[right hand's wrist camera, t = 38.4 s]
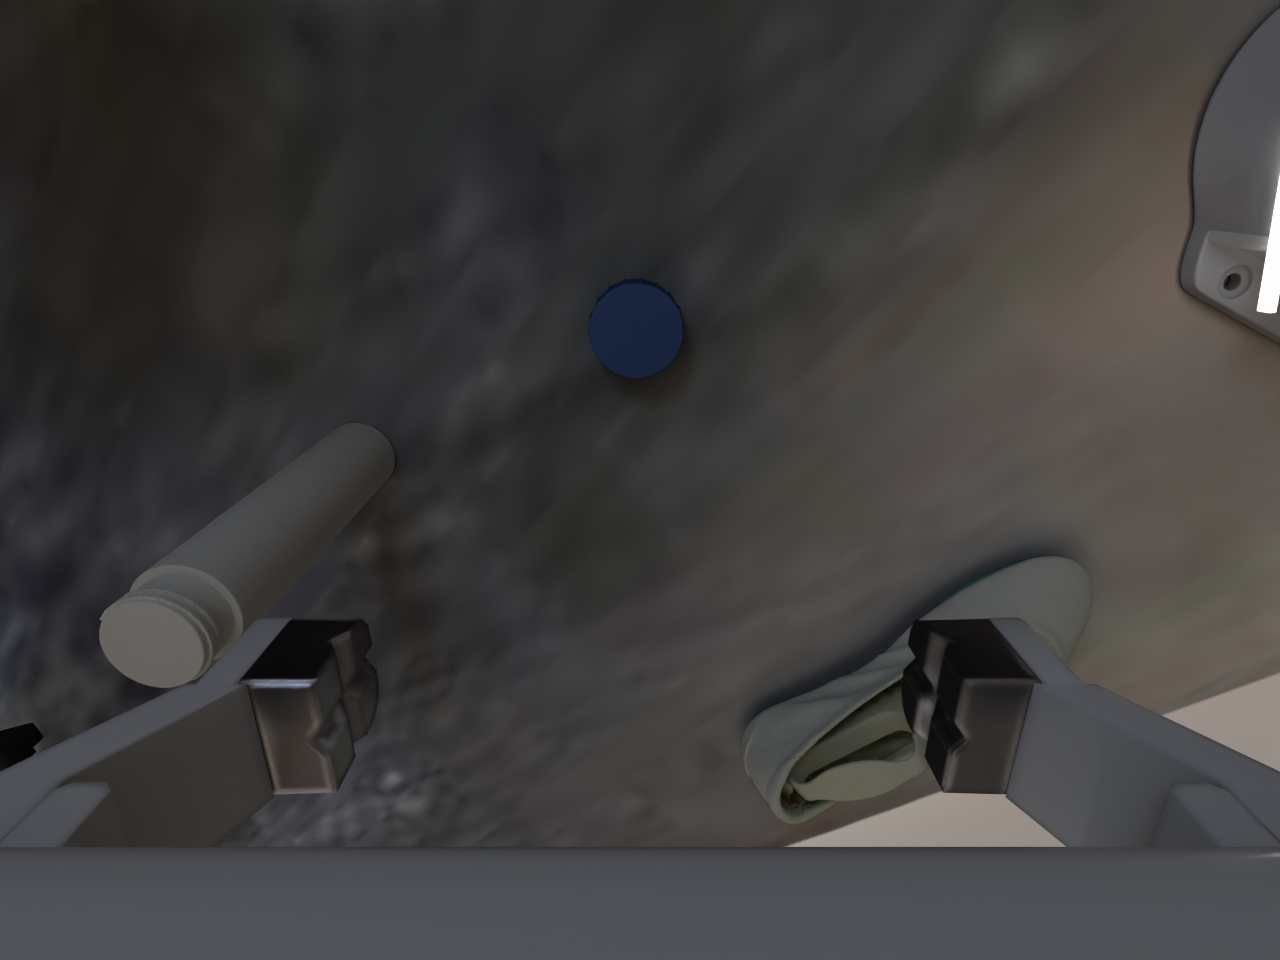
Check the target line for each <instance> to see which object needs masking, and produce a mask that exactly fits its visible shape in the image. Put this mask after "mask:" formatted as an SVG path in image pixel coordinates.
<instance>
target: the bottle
mask: <svg viewBox="0 0 1280 960" xmlns="http://www.w3.org/2000/svg"><path fill="white" fill-rule="evenodd" d="M394 466H395V454H394V451H393V448H392V445H391V444H390V442H389V440H388V439H387V438H386V437H385V436H384V435H383V434H382V433H381V432H380V431H379V430H377V429H375V428H374V427H372V426H369V425H366V424H362V423H348V424H344V425H341V426H339V427H338V428H336V429H335V430H333V431H332V432H331V433H329V434H328V435H327V436H325V437H324V438H323V439H321V440H320V441H319V442H317V443H316V444H315V445H313V446H312V447H311V448H309V449H308V450H307V451H305V452H304V453H303V454H301V455H300V456H299V457H297V458H296V459H295V460H293V461H292V462H291V463H289V464H288V465H287V466H285V467H284V468H283V469H281V470H280V471H279V472H277V473H276V474H275V475H273V476H272V477H271V478H269V479H268V480H267V481H265V482H264V483H263V484H261V485H260V486H259V487H257V488H256V489H255V490H253V491H252V492H251V493H249V494H248V495H247V496H245V497H244V498H243V499H241V500H240V501H239V502H237V503H236V504H235V505H233V506H232V507H231V508H229V509H228V510H227V511H225V512H224V513H223V514H221V515H220V516H219V517H217V518H216V519H215V520H213V521H212V522H211V523H209V524H208V525H207V526H205V527H204V528H203V529H201V530H200V531H199V532H197V533H196V534H195V535H193V536H192V537H191V538H189V539H188V540H187V541H185V542H184V543H183V544H181V545H180V546H179V547H177V548H176V549H175V550H173V551H172V552H171V553H169V554H168V555H167V556H165V557H164V558H163V559H161V560H160V561H159V562H157V563H156V564H155V565H153V566H152V567H151V568H149V569H148V570H147V571H145V572H144V573H143V574H141V575H140V576H139V577H138V578H137V579H136V580H135V582H134V583H133V585H132V587H131V589H130V592H129V593H127V594H125V595H124V596H123V597H121V598H120V599H119V600H118V601H116V602H115V603H114V604H112V605H111V606H110V607H108V608H107V609H106V610H105V611H104V613H103V615H102V616H101V618H100V620H101V621H102V622H101V626H100V630H99V639H100V644H101V647H102V649H103V652H104V653H105V655H106V657H107V658H108V660H109V661H110V662H111V663H112V665H113V666H114V667H115V668H117V669H118V670H119V671H120V672H121V673H123V674H124V675H126V676H127V677H129V678H130V679H132V680H134V681H136V682H139V683H142V684H145V685H148V686H153V687H161V688H168V687H176V686H179V685H182V684H185V683H187V682H189V681H191V680H195V679H196V678H198V677H199V676H200V675H202V674H203V673H205V672H206V670H207V669H208V667H209V666H210V665H211V663H212V660H215V659H218V658H221V657H222V656H223V655H224V654H225V652H226V651H227V650H228V649H229V648H230V647H231V646H232V645H233V644H234V643H235V642H236V641H237V640H238V638H239V637H240V636H241V635H242V634H243V633H244V632H245V631H246V630H247V629H248V628H249V627H250V626H251V624H252V623H253V622H254V621H255V620H258V619H261V618H262V617H263V616H264V615H265V614H266V613H267V612H268V611H269V610H270V608H271V607H272V606H273V605H274V604H275V603H276V602H277V601H278V600H279V599H280V597H281V596H282V595H283V594H284V593H285V592H286V591H287V590H288V589H289V588H290V586H291V585H292V584H293V583H294V582H295V581H296V580H297V579H298V578H299V576H300V575H301V574H302V573H303V572H304V571H305V570H306V569H307V568H308V567H309V565H310V564H311V563H312V562H313V561H314V560H315V559H316V558H317V557H318V556H319V554H320V553H321V552H322V551H323V550H324V549H325V548H326V547H327V546H328V545H329V543H330V542H331V541H332V540H333V539H334V538H335V537H336V536H337V535H338V533H339V532H340V531H341V530H342V529H343V528H344V527H345V526H346V525H347V524H348V522H349V521H350V520H351V519H352V518H353V517H354V516H355V515H356V514H357V513H358V511H359V510H360V509H361V508H362V507H363V506H364V505H365V504H366V503H367V501H368V500H369V499H370V498H371V497H372V496H373V495H374V494H375V493H376V492H377V490H378V489H379V488H380V487H381V486H382V485H383V484H384V483H385V482H386V481H387V479H388V478H389V477H390V476H391V474H392V472H393V470H394Z"/></svg>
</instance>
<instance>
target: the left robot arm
mask: <svg viewBox="0 0 1280 960" xmlns="http://www.w3.org/2000/svg"><path fill="white" fill-rule="evenodd" d="M42 738H43V735H42V734H41V733H40V731H39V730H38V729H37V727H36V726H35V725H34V724H33V723H28V724H25V725H21V726H17V727H13V728H9V729H6V730H2V731H0V771H2V770H4V769H6V768H9V767H11V766H13V765H15V764H17V763H19V762H21V761H23V760H25V759H28V758H30V757H31V756H32V755H33V754H34V753H35V752H36V751H35V749H34V748H33V747H34V746H35V745H36V744H37V743H38V742H39V741H40V740H41V739H42Z"/></svg>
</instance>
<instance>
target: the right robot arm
mask: <svg viewBox="0 0 1280 960" xmlns="http://www.w3.org/2000/svg"><path fill="white" fill-rule="evenodd" d="M1193 195H1194V227H1193V229H1192V232H1191V235H1190V238H1189V241H1188V244H1187V247H1186V250H1185V253H1184V257H1183V261H1182V265H1181V270H1180V281H1181V285H1182V287H1183V288H1184V290H1185V291H1186V292H1188V293H1189V294H1191V295H1193V296H1194V297H1196V298H1198V299H1200V300H1201V301H1203V302H1205V303H1207V304H1209V305H1210V306H1212V307H1214V308H1216V309H1218V310H1219V311H1221V312H1223V313H1225V314H1227V315H1228V316H1230V317H1232V318H1234V319H1236V320H1237V321H1239V322H1241V323H1243V324H1245V325H1246V326H1248V327H1250V328H1252V329H1253V330H1255V331H1257V332H1259V333H1261V334H1262V335H1264V336H1266V337H1268V338H1270V339H1271V340H1273V341H1275V342H1277V343H1279V344H1280V7H1279V8H1278V9H1277V10H1276V11H1275V12H1274V13H1273V14H1271V15H1270V16H1269V17H1268V18H1267V19H1266V20H1265V21H1264V22H1263V23H1262V24H1261V25H1260V26H1259V27H1258V29H1257V30H1256V31H1255V32H1254V33H1253V34H1252V35H1251V37H1250V38H1249V39H1248V40H1247V41H1246V42H1245V44H1244V45H1243V46H1242V48H1241V49H1240V50H1239V52H1238V53H1237V54H1236V56H1235V57H1234V59H1233V60H1232V62H1231V63H1230V65H1229V66H1228V68H1227V69H1226V71H1225V73H1224V74H1223V76H1222V78H1221V80H1220V82H1219V83H1218V85H1217V87H1216V89H1215V91H1214V93H1213V95H1212V97H1211V100H1210V102H1209V104H1208V107H1207V109H1206V112H1205V115H1204V118H1203V121H1202V123H1201V127H1200V130H1199V134H1198V138H1197V143H1196V148H1195V154H1194V162H1193ZM1229 275H1230V281H1229V283H1228V285H1227V286H1226V287H1224V281H1225V279H1226V278H1227V276H1229ZM371 646H372V641H371V636H370V631H369V626H368V624H367V623H366V622H365V621H364V620H363V619H322V618H296V619H295V618H262V619H258V620H255V621H254V622H253V623H252V624H251V626H250V627H249V628H248V629H247V630H246V631H245V632H244V633H243V634H242V635H241V636H240V637H239V638H238V640H237V641H236V642H235V643H234V644H233V645H232V646H231V647H230V648H229V649H228V650H227V651H226V652H225V654H224V655H223V656H222V657H221V658H220V659H219V660H218V661H217V662H216V663H215V664H214V665H213V666H212V668H211V669H210V670H209V671H208V672H207V673H206V674H205V675H204V676H203V677H202V678H201V679H200V680H199V682H198V683H197V684H184V685H182V686H180V687H178V688H176V689H174V690H171V691H169V692H167V693H165V694H163V695H161V696H159V697H157V698H155V699H152V700H150V701H148V702H146V703H144V704H142V705H140V706H138V707H135V708H133V709H131V710H129V711H127V712H125V713H123V714H121V715H119V716H116V717H114V718H112V719H110V720H108V721H106V722H104V723H102V724H100V725H97V726H95V727H93V728H91V729H89V730H87V731H85V732H83V733H80V734H78V735H76V736H74V737H72V738H70V739H68V740H66V741H64V742H61V743H59V744H57V745H55V746H53V747H51V748H49V749H47V750H44V751H42V752H40V753H38V754H36V755H34V756H32V757H30V758H28V759H25V760H23V761H21V762H19V763H17V764H15V765H13V766H11V767H9V768H6V769H4V770H2V771H0V960H1280V772H1279V771H1277V770H1275V769H1273V768H1271V767H1269V766H1267V765H1265V764H1263V763H1260V762H1258V761H1256V760H1254V759H1252V758H1250V757H1248V756H1246V755H1244V754H1241V753H1239V752H1237V751H1235V750H1233V749H1231V748H1229V747H1227V746H1225V745H1222V744H1220V743H1218V742H1216V741H1214V740H1212V739H1210V738H1208V737H1206V736H1203V735H1201V734H1199V733H1197V732H1195V731H1193V730H1191V729H1189V728H1187V727H1184V726H1182V725H1180V724H1178V723H1176V722H1174V721H1172V720H1170V719H1168V718H1165V717H1163V716H1161V715H1159V714H1157V713H1155V712H1153V711H1151V710H1149V709H1146V708H1144V707H1142V706H1140V705H1138V704H1136V703H1134V702H1132V701H1130V700H1128V699H1125V698H1123V697H1121V696H1119V695H1117V694H1115V693H1113V692H1111V691H1109V690H1106V689H1104V688H1102V687H1100V686H1098V685H1096V684H1083V683H1082V682H1081V680H1080V679H1079V678H1078V677H1077V676H1076V675H1075V674H1074V673H1073V672H1072V671H1071V670H1070V669H1069V667H1068V666H1067V665H1066V664H1065V663H1064V662H1063V661H1062V660H1061V659H1060V658H1059V657H1058V656H1057V655H1056V653H1055V652H1054V651H1053V650H1052V649H1051V648H1050V647H1049V646H1048V645H1047V644H1046V643H1045V642H1044V641H1043V639H1042V638H1041V637H1040V636H1039V635H1038V634H1037V633H1036V632H1035V631H1034V630H1033V629H1032V628H1031V627H1030V625H1029V624H1028V623H1027V622H1026V621H1024V620H1022V619H1019V618H1017V617H1011V618H984V619H955V620H915V621H914V623H913V625H912V627H911V630H910V635H909V640H908V646H909V647H910V649H911V651H912V652H913V654H914V656H915V658H914V659H913V660H912V661H911V663H910V664H909V665H908V666H907V667H906V668H905V669H904V670H903V677H902V685H901V694H902V706H903V710H904V714H905V717H906V721H907V723H908V725H909V727H910V729H911V731H912V733H913V734H914V735H915V736H917V737H918V738H920V739H921V740H923V741H924V742H926V743H927V745H926V751H925V756H924V757H925V758H926V760H927V762H928V764H929V766H930V768H931V770H932V772H933V774H934V776H935V778H936V780H937V781H938V783H939V785H940V787H941V789H942V791H943V792H944V793H977V794H1006V798H1007V799H1009V800H1010V801H1011V802H1012V803H1014V804H1015V805H1016V806H1017V807H1018V808H1020V809H1021V810H1022V811H1023V812H1025V813H1026V814H1027V815H1028V816H1030V817H1031V818H1032V819H1033V820H1034V821H1036V822H1037V823H1038V824H1039V825H1041V826H1042V827H1043V828H1044V829H1045V830H1047V831H1048V832H1049V833H1050V834H1052V835H1053V836H1054V837H1055V838H1057V839H1058V840H1059V841H1060V842H1061V843H1063V844H1064V845H1065V846H1066V847H214V846H215V845H216V844H217V843H219V842H220V841H221V840H222V839H224V838H225V837H226V836H227V835H229V834H230V833H231V832H232V831H234V830H235V829H236V828H237V827H238V826H240V825H241V824H242V823H243V822H245V821H246V820H247V819H248V818H250V817H251V816H252V815H253V814H254V813H256V812H257V811H258V810H259V809H261V808H262V807H263V806H264V805H266V804H267V803H268V802H269V801H271V800H272V799H273V798H274V794H302V793H337V791H338V789H339V787H340V785H341V783H342V782H343V780H344V778H345V776H346V774H347V772H348V770H349V768H350V766H351V764H352V762H353V760H354V758H355V757H356V756H355V751H354V745H353V743H354V742H356V741H357V740H359V739H360V738H362V737H363V736H365V735H366V734H367V733H368V731H369V729H370V727H371V725H372V723H373V721H374V718H375V713H376V709H377V704H378V699H379V683H378V676H377V670H376V669H375V668H374V667H373V666H372V665H371V664H370V663H369V661H368V660H367V659H366V658H365V656H366V654H367V653H368V651H369V649H370V647H371Z"/></svg>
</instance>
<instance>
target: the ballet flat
mask: <svg viewBox="0 0 1280 960" xmlns="http://www.w3.org/2000/svg"><path fill="white" fill-rule="evenodd" d="M1092 596H1093V589H1092V581H1091V578H1090V576H1089V574H1088V573H1087V571H1086V570H1085V569H1084V567H1083V566H1082V565H1081V564H1079V563H1078V562H1076V561H1074V560H1072V559H1070V558H1066V557H1060V556H1044V557H1043V556H1041V557H1034V558H1028V559H1025V560H1021V561H1018V562H1015V563H1012V564H1010V565H1007V566H1004V567H1002V568H999V569H997V570H994V571H992V572H989V573H987V574H985V575H983V576H981V577H979V578H977V579H975V580H973V581H971V582H969V583H967V584H966V585H964V586H962V587H961V588H959V589H957V590H956V591H955V592H953V593H952V594H950V595H949V596H948V597H946V598H945V599H944V600H942V601H941V602H940V603H939V604H938V605H936V606H935V607H934V608H933V609H932V610H931V611H930V612H928V613H927V614H926V615H924V616H923V617H922V618H920V619H919V620H955V619H984V618H1011V617H1017V618H1019V619H1022V620H1024V621H1026V622H1027V623H1028V624H1029V625H1030V627H1031V628H1032V629H1033V630H1034V631H1035V632H1036V633H1037V634H1038V635H1039V636H1040V637H1041V638H1042V639H1043V641H1044V642H1045V643H1046V644H1047V645H1048V646H1049V647H1050V648H1051V649H1052V650H1053V651H1054V652H1055V653H1056V655H1057V656H1058V657H1059V658H1060V659H1061V660H1062V661H1063V662H1064V663H1065V662H1066V661H1067V660H1068V658H1069V657H1070V655H1071V653H1072V652H1073V650H1074V647H1075V646H1076V644H1077V642H1078V640H1079V639H1080V636H1081V634H1082V632H1083V630H1084V628H1085V626H1086V623H1087V621H1088V618H1089V614H1090V609H1091V604H1092ZM911 627H912V625H911V626H910V627H909V628H908V629H907V630H906V631H905V632H904V633H903V634H902V635H901V636H900V637H899V638H898V639H897V640H896V641H895V642H894V643H893V644H892V645H891V646H890V647H889V648H888V649H887V651H885V652H884V653H882V654H879V655H878V656H876V657H875V658H874V660H872V661H871V662H869V663H867V664H866V665H865V666H863V667H862V668H860V669H859V670H857V671H854V672H852V673H851V674H849V675H846V676H842V677H839V678H837V679H835V680H833V681H831V682H829V683H827V684H825V685H823V686H821V687H819V688H817V689H814V690H811V691H808V692H805V693H802V694H799V695H797V696H794V697H791V698H788V699H786V700H783V701H781V702H779V703H776V704H774V705H772V706H770V707H768V708H766V709H764V710H762V711H761V712H759V713H758V714H757V715H756V716H754V718H753V719H752V720H751V722H750V723H749V724H748V725H747V727H746V729H745V731H744V734H743V737H742V754H743V760H744V765H745V769H746V772H747V775H748V777H749V778H750V779H751V781H752V783H753V784H754V786H755V787H756V789H757V791H758V792H759V794H760V795H761V796H762V797H763V799H764V801H765V802H766V803H767V805H768V806H769V807H770V808H771V810H772V811H773V813H774V814H775V815H776V816H777V817H778V818H779V819H780V820H782V821H784V822H786V823H789V824H798V823H802V822H805V821H806V820H808V819H811V818H812V817H814V816H815V815H817V814H819V813H821V812H823V811H824V810H826V809H827V808H828V807H831V806H832V805H833V804H835V803H836V802H837V801H854V800H862V799H867V798H872V797H876V796H879V795H882V794H884V793H887V792H889V791H891V790H893V789H895V788H897V787H898V786H899V785H901V784H902V783H903V782H905V781H906V780H908V779H910V778H912V777H915V776H918V775H920V774H921V773H923V772H924V771H925V769H926V767H927V765H928V762H927V760H926V758H925V757H924V756H925V751H926V745H927V743H926V742H924V741H923V740H921V739H920V738H918V737H917V736H915V735H914V734H913V733H912V731H911V729H910V727H909V725H908V723H907V721H906V717H905V714H904V710H903V706H902V694H901V685H902V677H903V670H904V669H905V668H906V667H907V666H908V665H909V664H910V663H911V661H912V660H913V659H914V658H915V656H914V654H913V652H912V651H911V649H910V647H909V646H908V640H909V635H910V630H911Z"/></svg>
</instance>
